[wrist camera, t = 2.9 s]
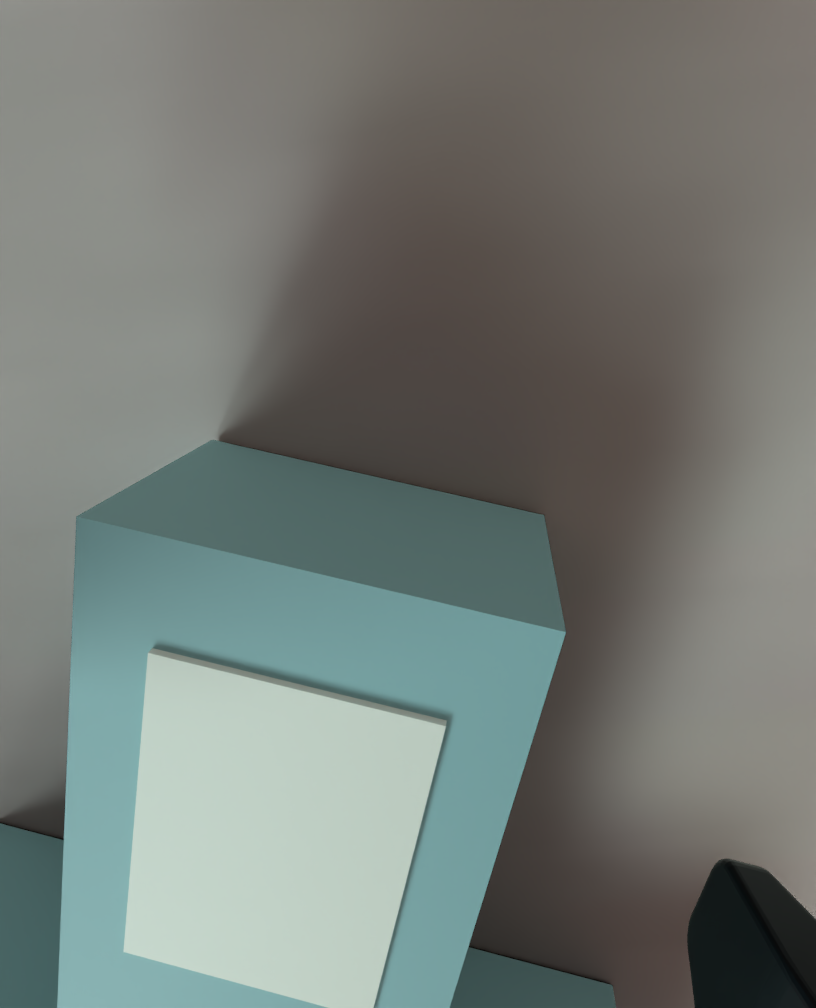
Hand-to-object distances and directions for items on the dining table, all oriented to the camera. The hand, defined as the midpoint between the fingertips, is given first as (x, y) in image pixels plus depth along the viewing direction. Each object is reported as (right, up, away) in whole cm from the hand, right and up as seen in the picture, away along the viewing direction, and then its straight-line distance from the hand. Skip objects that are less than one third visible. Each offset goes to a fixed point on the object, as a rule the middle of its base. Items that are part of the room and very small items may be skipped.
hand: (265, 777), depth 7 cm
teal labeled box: (0, -1, +5) cm, 5 cm away
